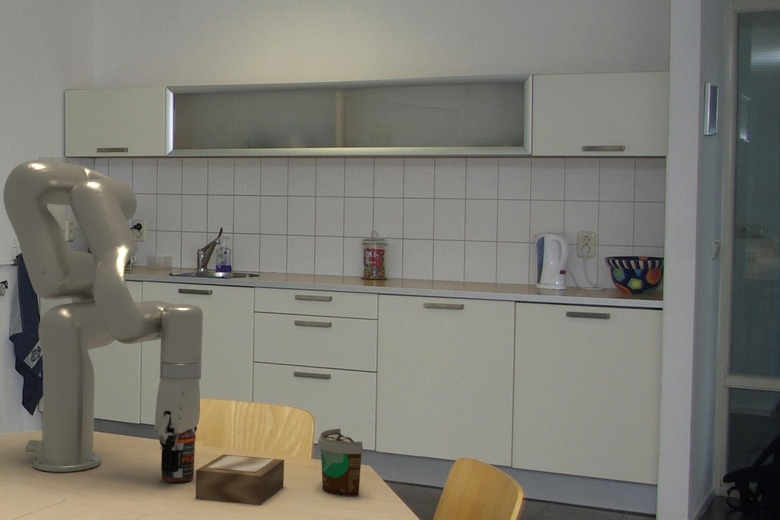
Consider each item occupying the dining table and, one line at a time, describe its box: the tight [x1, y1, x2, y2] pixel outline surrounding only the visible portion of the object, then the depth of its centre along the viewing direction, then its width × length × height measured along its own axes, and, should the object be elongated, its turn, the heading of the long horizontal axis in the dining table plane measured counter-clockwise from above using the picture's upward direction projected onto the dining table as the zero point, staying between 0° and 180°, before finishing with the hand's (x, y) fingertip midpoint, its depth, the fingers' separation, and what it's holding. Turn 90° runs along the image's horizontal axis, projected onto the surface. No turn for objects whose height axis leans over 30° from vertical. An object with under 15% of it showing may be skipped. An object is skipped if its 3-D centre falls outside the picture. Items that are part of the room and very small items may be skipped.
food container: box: [316, 428, 364, 497], centre depth 171 cm, size 12×6×10 cm, turn 23°
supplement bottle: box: [161, 429, 196, 484], centre depth 175 cm, size 6×6×11 cm
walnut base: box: [195, 454, 285, 506], centre depth 168 cm, size 12×12×5 cm
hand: (177, 465), depth 175 cm, fingers closed on supplement bottle, 6 cm apart
